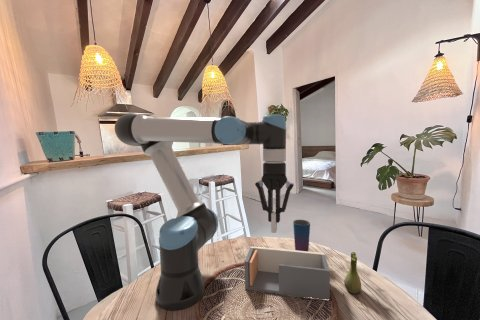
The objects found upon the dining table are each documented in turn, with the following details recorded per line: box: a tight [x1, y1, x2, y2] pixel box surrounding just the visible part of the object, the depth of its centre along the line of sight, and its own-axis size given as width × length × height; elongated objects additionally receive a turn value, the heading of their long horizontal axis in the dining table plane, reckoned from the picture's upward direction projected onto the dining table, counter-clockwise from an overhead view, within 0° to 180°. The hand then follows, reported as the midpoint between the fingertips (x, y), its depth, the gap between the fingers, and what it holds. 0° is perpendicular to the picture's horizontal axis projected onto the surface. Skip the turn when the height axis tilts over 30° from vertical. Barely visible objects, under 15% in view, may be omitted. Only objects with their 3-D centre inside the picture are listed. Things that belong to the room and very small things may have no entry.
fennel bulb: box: [343, 251, 362, 294], centre depth 68 cm, size 6×5×12 cm
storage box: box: [244, 246, 331, 299], centre depth 72 cm, size 26×11×10 cm, turn 76°
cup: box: [292, 219, 311, 252], centre depth 89 cm, size 7×7×15 cm
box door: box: [249, 250, 258, 286], centre depth 74 cm, size 9×1×8 cm, turn 163°
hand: (274, 231), depth 72 cm, fingers closed
